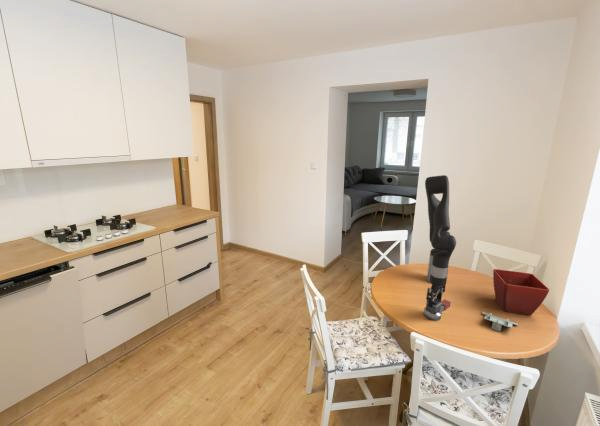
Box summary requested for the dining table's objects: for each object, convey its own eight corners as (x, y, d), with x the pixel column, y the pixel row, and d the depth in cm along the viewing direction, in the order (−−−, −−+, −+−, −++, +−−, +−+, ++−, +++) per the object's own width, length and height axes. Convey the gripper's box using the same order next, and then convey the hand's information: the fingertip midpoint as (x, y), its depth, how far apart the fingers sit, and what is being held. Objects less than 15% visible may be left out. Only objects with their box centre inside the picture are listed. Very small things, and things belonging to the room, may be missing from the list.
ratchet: (439, 302, 163) (441, 292, 161) (454, 308, 157) (456, 298, 155) (420, 315, 150) (421, 304, 149) (435, 322, 145) (437, 311, 143)
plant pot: (526, 300, 166) (532, 273, 162) (542, 320, 148) (550, 290, 144) (487, 295, 171) (492, 268, 167) (499, 313, 153) (505, 284, 149)
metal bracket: (517, 326, 134) (479, 313, 144) (514, 338, 134) (477, 324, 144) (518, 320, 145) (483, 308, 155) (516, 331, 146) (481, 319, 155)
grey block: (430, 306, 153) (432, 296, 151) (440, 311, 149) (441, 300, 147) (425, 310, 150) (426, 299, 148) (435, 314, 146) (436, 304, 144)
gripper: (438, 267, 151) (434, 295, 155) (423, 275, 142) (420, 305, 147) (453, 272, 146) (448, 302, 150) (439, 281, 137) (434, 312, 141)
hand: (434, 303), depth 148 cm, fingers open, 8 cm apart
